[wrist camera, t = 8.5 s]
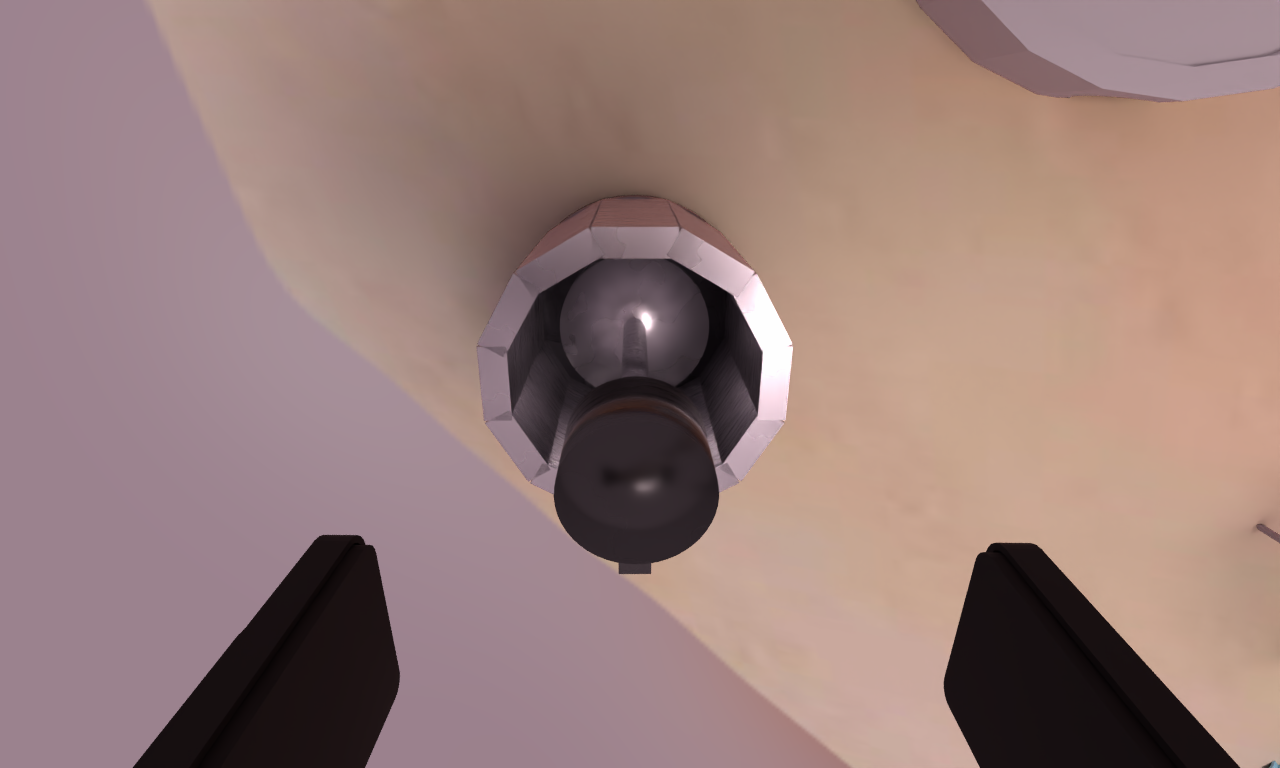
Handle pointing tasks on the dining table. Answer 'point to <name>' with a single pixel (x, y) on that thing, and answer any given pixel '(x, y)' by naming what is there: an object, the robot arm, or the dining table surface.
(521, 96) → the dining table surface
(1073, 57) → the ashtray
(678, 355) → the plunger
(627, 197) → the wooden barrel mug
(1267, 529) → the juicer
